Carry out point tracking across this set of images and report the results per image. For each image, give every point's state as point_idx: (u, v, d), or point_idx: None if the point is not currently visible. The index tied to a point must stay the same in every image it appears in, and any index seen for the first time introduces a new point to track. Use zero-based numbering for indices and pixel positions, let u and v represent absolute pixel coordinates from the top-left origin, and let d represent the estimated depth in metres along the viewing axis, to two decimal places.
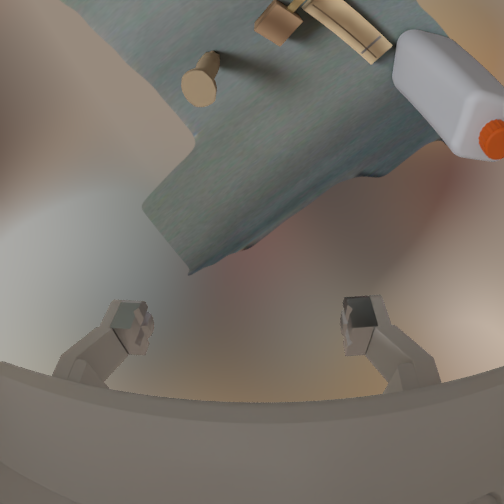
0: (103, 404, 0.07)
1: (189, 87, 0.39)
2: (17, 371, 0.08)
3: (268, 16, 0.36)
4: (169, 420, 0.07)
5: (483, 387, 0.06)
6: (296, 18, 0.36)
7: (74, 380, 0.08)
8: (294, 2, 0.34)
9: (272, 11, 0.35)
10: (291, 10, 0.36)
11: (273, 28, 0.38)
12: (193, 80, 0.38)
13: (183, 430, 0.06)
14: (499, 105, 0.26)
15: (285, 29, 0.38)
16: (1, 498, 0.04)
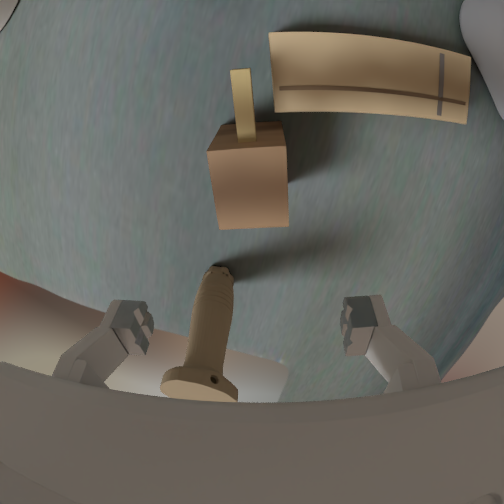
0: (103, 404, 0.07)
1: (184, 398, 0.23)
2: (17, 371, 0.08)
3: (216, 187, 0.20)
4: (169, 420, 0.07)
5: (483, 387, 0.06)
6: (268, 150, 0.18)
7: (74, 380, 0.08)
8: (238, 116, 0.18)
9: (213, 172, 0.19)
10: (248, 137, 0.19)
11: (246, 202, 0.21)
12: (180, 391, 0.22)
13: (183, 430, 0.06)
14: None
15: (269, 188, 0.20)
16: (1, 498, 0.04)
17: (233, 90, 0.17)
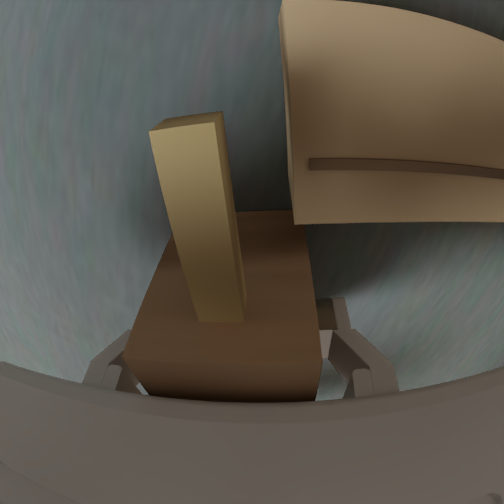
0: (103, 404, 0.07)
1: None
2: (17, 371, 0.08)
3: None
4: (169, 420, 0.07)
5: (483, 387, 0.06)
6: (274, 368, 0.07)
7: (109, 387, 0.08)
8: (191, 269, 0.07)
9: (149, 385, 0.08)
10: (224, 314, 0.08)
11: None
12: None
13: (183, 430, 0.06)
14: None
15: None
16: (1, 498, 0.04)
17: (167, 198, 0.06)
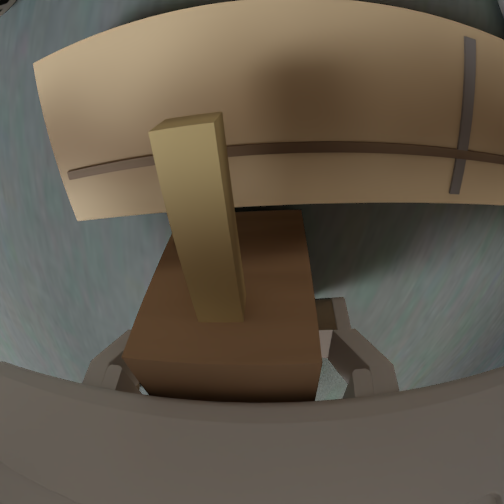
0: (103, 404, 0.07)
1: None
2: (17, 371, 0.08)
3: None
4: (169, 420, 0.07)
5: (483, 387, 0.06)
6: (273, 369, 0.07)
7: (109, 387, 0.08)
8: (191, 269, 0.07)
9: (148, 385, 0.08)
10: (223, 314, 0.08)
11: None
12: None
13: (183, 430, 0.06)
14: None
15: None
16: (1, 498, 0.04)
17: (166, 198, 0.06)
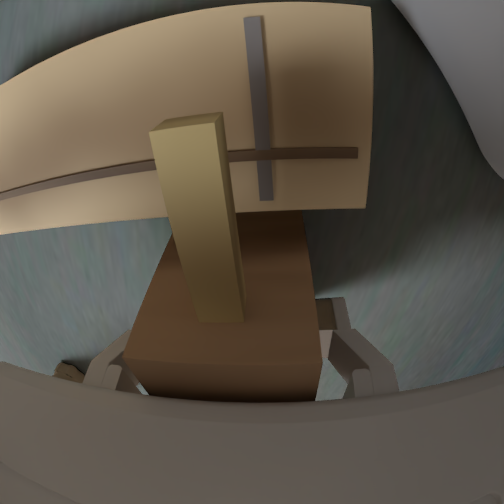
0: (103, 404, 0.07)
1: None
2: (17, 371, 0.08)
3: None
4: (169, 420, 0.07)
5: (483, 387, 0.06)
6: (274, 369, 0.07)
7: (109, 387, 0.08)
8: (191, 269, 0.07)
9: (149, 385, 0.08)
10: (224, 314, 0.08)
11: None
12: None
13: (183, 430, 0.06)
14: None
15: None
16: (1, 498, 0.04)
17: (167, 198, 0.06)
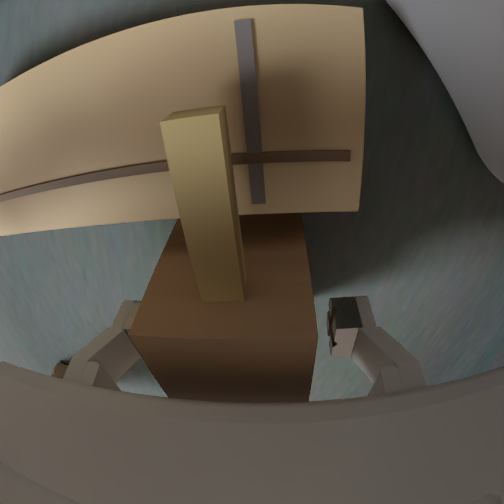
0: (103, 404, 0.07)
1: None
2: (17, 370, 0.08)
3: (164, 382, 0.09)
4: (169, 420, 0.07)
5: (483, 387, 0.06)
6: (272, 343, 0.07)
7: (87, 383, 0.08)
8: (195, 249, 0.07)
9: (153, 364, 0.09)
10: (225, 293, 0.08)
11: None
12: None
13: (183, 430, 0.06)
14: None
15: (273, 391, 0.09)
16: (1, 498, 0.04)
17: (174, 182, 0.06)
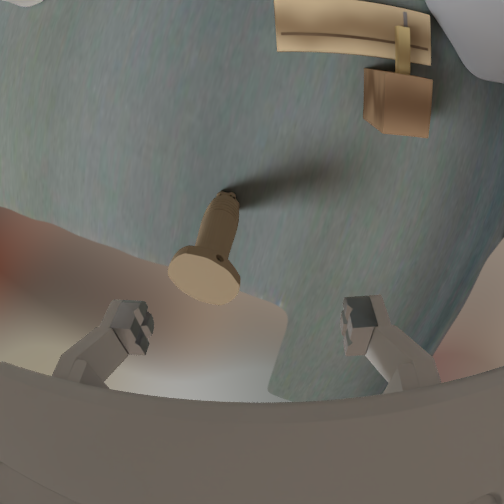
0: (103, 404, 0.07)
1: (189, 284, 0.26)
2: (17, 371, 0.08)
3: (387, 99, 0.23)
4: (169, 420, 0.07)
5: (483, 387, 0.06)
6: (422, 80, 0.21)
7: (74, 380, 0.08)
8: (401, 56, 0.21)
9: (387, 87, 0.22)
10: (405, 71, 0.22)
11: (404, 114, 0.23)
12: (186, 273, 0.26)
13: (183, 430, 0.06)
14: None
15: (420, 107, 0.23)
16: (1, 498, 0.04)
17: (399, 38, 0.20)
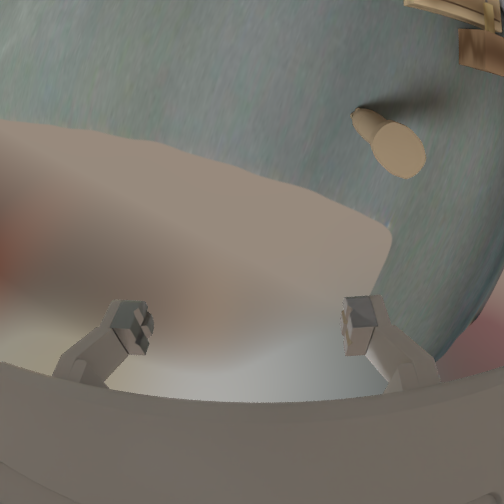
0: (103, 404, 0.07)
1: (388, 154, 0.26)
2: (17, 370, 0.08)
3: (486, 47, 0.22)
4: (169, 420, 0.07)
5: (483, 387, 0.06)
6: None
7: (74, 380, 0.08)
8: (489, 22, 0.21)
9: (486, 40, 0.22)
10: (492, 32, 0.22)
11: (496, 59, 0.23)
12: (389, 142, 0.26)
13: (183, 430, 0.06)
14: None
15: None
16: (1, 498, 0.04)
17: (488, 11, 0.20)
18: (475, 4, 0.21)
